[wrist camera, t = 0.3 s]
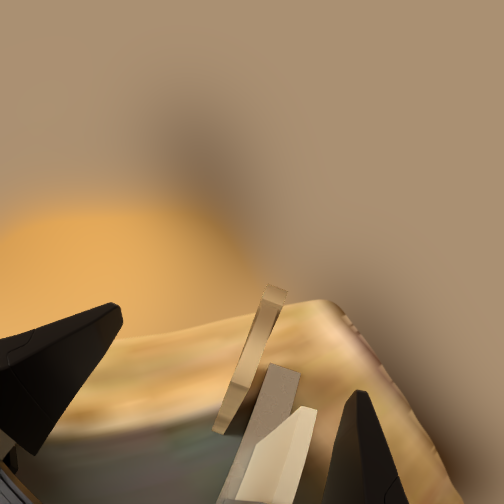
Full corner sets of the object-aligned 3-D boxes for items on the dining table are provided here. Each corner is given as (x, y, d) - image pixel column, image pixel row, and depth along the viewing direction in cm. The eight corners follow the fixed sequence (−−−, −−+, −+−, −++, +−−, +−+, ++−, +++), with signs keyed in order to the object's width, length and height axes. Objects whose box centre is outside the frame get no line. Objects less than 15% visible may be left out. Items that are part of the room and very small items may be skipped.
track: (241, 546, 11) (242, 547, 11) (200, 535, 11) (201, 535, 11) (299, 374, 25) (300, 373, 25) (269, 364, 26) (270, 362, 25)
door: (243, 531, 12) (292, 557, 5) (214, 524, 12) (240, 548, 6) (273, 449, 18) (334, 409, 12) (248, 442, 18) (293, 397, 12)
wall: (225, 435, 19) (255, 386, 12) (209, 429, 19) (227, 376, 12) (251, 370, 25) (287, 291, 18) (237, 364, 25) (267, 283, 18)
